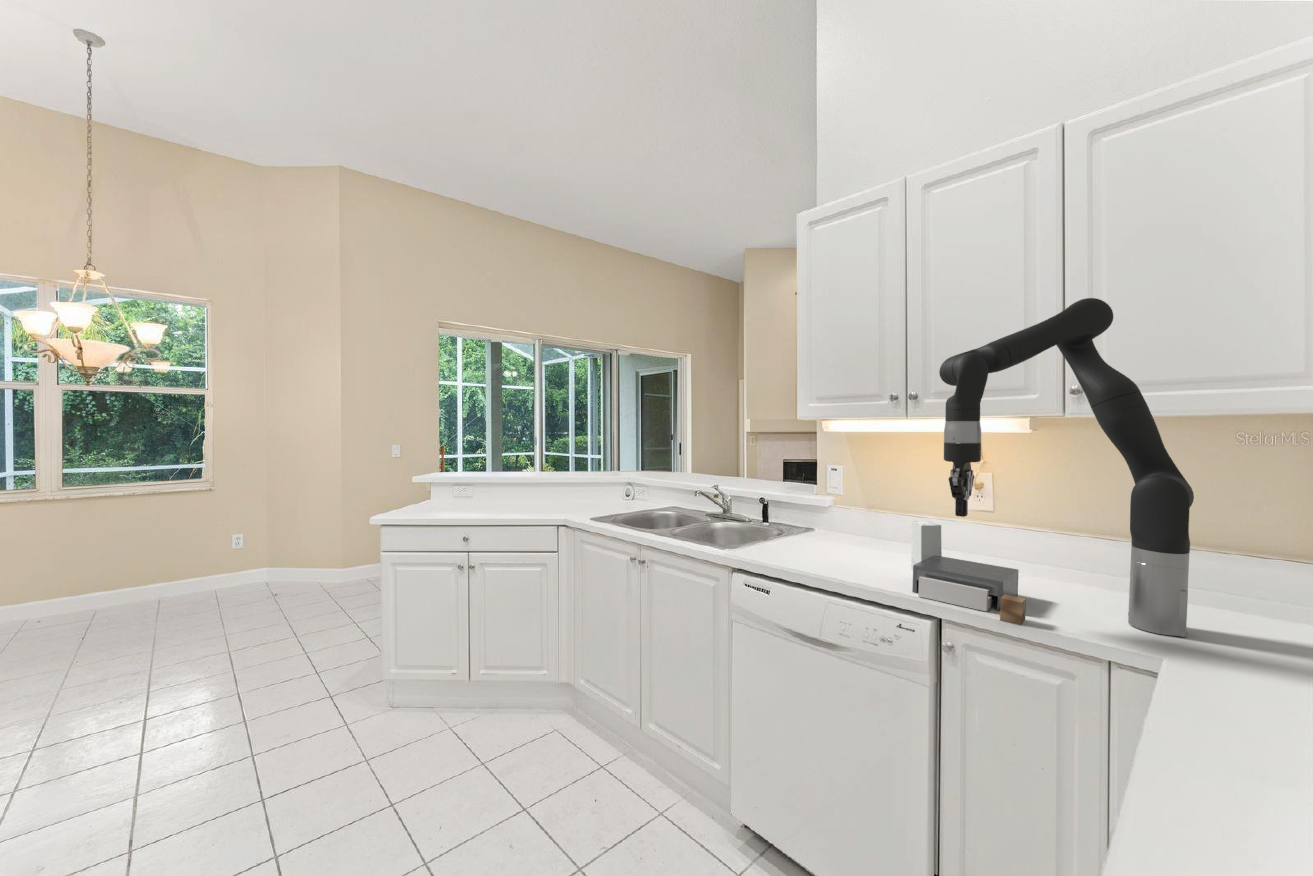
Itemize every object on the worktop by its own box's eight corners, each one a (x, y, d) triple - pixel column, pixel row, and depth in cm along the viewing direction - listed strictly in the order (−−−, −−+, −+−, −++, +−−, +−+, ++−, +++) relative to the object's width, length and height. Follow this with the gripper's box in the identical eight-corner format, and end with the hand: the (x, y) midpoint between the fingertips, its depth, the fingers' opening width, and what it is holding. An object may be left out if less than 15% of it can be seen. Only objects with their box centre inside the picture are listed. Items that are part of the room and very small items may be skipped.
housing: (1017, 597, 138) (1018, 569, 138) (1002, 611, 127) (1003, 582, 126) (933, 580, 152) (933, 555, 152) (912, 592, 141) (913, 565, 140)
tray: (1004, 595, 139) (1005, 576, 139) (986, 611, 126) (987, 591, 126) (941, 582, 149) (941, 564, 149) (918, 596, 137) (918, 577, 136)
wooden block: (1025, 620, 121) (1025, 598, 121) (1021, 625, 118) (1022, 602, 118) (1004, 616, 124) (1004, 594, 124) (999, 620, 121) (1000, 598, 121)
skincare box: (942, 577, 155) (943, 525, 154) (919, 576, 155) (921, 524, 155) (930, 569, 163) (931, 520, 163) (909, 568, 164) (910, 519, 163)
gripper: (952, 440, 133) (951, 511, 133) (936, 441, 123) (935, 517, 124) (987, 441, 128) (986, 514, 128) (973, 441, 118) (972, 521, 119)
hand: (961, 516), depth 126 cm, fingers closed
